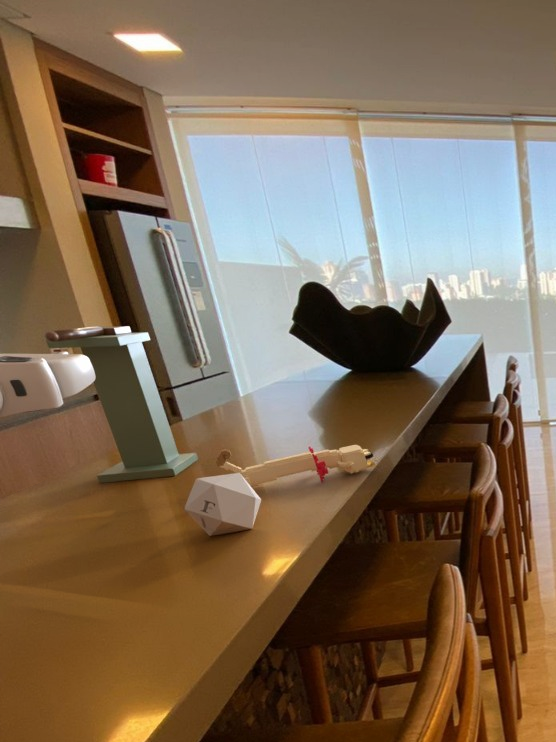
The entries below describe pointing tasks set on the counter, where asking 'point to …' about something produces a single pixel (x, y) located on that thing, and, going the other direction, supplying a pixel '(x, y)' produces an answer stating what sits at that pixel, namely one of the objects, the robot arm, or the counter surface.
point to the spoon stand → (131, 407)
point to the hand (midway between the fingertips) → (22, 356)
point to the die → (223, 504)
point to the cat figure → (301, 464)
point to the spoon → (85, 332)
